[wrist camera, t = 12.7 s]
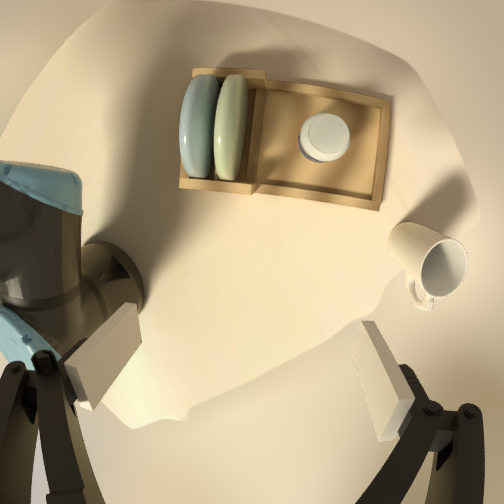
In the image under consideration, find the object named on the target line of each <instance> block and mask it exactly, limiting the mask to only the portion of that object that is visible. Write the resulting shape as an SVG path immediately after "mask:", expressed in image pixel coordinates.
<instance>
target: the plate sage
mask: <svg viewBox="0 0 504 504" xmlns="http://www.w3.org/2000/svg"><path fill="white" fill-rule="evenodd" d="M247 118H248V90H247V83H246V79H245V77H244V76H243V75H231V74H230V75H228V76H227V78H226V79H225V81H224V83H223V86H222V88H221V92H220V95H219V99H218V104H217V110H216V117H215V127H214V158H215V166H216V171H217V174H218V176H219V178H220V179H224V180H235V178H236V177H237V175H238V172H239V169H240V166H241V162H242V157H243V152H244V146H245V139H246V130H247Z"/></svg>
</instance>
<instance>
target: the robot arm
mask: <svg viewBox="0 0 504 504" xmlns="http://www.w3.org/2000/svg"><path fill="white" fill-rule="evenodd" d="M82 215H83V210H82V181H81V179H80V177H79V176H78V174H76V173H75V172H73V171H71V170H67V169H63V168H58V167H53V166H46V165H40V164H33V163H25V162H15V161H3V160H0V351H1V352H2V353H3V355H4V356H5V358H6V359H7V360H8V361H9V364H8V365H7V366H6V367H5V369H4V372H3V374H2V376H1V378H0V504H31V485H32V472H33V463H34V455H35V448H36V441H37V435H38V429H39V431H40V440H41V448H42V454H43V460H44V465H45V471H46V476H47V481H48V485H49V490H50V493H49V494H46V502H47V504H105V502H104V499H103V497H102V494H101V492H100V489H99V486H98V484H97V481H96V478H95V476H94V473H93V470H92V467H91V463H90V460H89V457H88V454H87V451H86V447H85V444H84V440H83V436H82V433H81V429H80V425H79V421H78V416H77V412H76V408H75V406H74V402H75V401H76V399H78V401H79V404H80V406H81V407H83V408H86V409H88V410H91V411H93V410H94V409H95V408H96V406H97V405H98V403H99V402H100V400H101V399H102V397H103V396H104V395H105V393H106V392H107V390H108V389H109V387H110V386H111V385H112V383H113V382H114V380H115V379H116V378H117V376H118V375H119V373H120V372H121V371H122V369H123V368H124V366H125V365H126V364H127V362H128V361H129V359H130V358H131V357H132V355H133V354H134V353H135V351H136V350H137V348H138V347H139V346H140V344H141V343H142V339H141V333H140V326H139V319H138V314H139V313H140V311H141V309H142V306H143V302H144V288H143V283H142V279H141V277H140V274H139V272H138V270H137V268H136V266H135V265H134V263H133V262H132V260H131V259H130V258H129V257H128V256H127V255H126V254H125V253H124V252H123V251H122V250H121V249H119V248H118V247H116V246H114V245H112V244H109V243H106V242H93V243H90V244H88V245H85V246H83V247H81V222H82ZM352 361H353V364H354V367H355V370H356V372H357V376H358V379H359V382H360V384H361V388H362V391H363V394H364V397H365V400H366V403H367V406H368V410H369V413H370V416H371V419H372V423H373V426H374V429H375V433H376V436H377V440H378V442H382V441H390V440H394V438H395V436H396V434H397V433H399V436H400V440H399V442H398V443H397V445H396V446H395V448H394V449H393V451H392V453H391V454H390V456H389V457H388V459H387V460H386V462H385V464H384V465H383V466H382V468H381V470H380V471H379V473H378V474H377V475H376V477H375V478H374V479H373V481H372V482H371V484H370V485H369V486H368V488H367V489H366V490H365V492H364V493H363V494H362V495H361V497H360V498H359V499H358V501H357V502H356V503H355V504H400V503H401V502H402V500H403V498H404V497H405V495H406V493H407V492H408V490H409V488H410V486H411V485H412V483H413V481H414V479H415V477H416V475H417V473H418V471H419V469H420V468H421V466H422V463H423V462H424V460H425V457H426V455H427V453H428V451H432V452H434V458H433V465H432V471H431V477H430V482H429V487H428V492H427V497H426V501H425V504H483V496H484V477H485V455H484V453H485V450H484V430H483V418H482V412H481V410H480V409H479V408H478V407H477V406H476V405H474V404H470V403H466V404H463V405H461V406H460V407H459V409H458V411H446V410H443V407H442V406H441V405H440V404H439V403H437V402H435V401H431V400H429V398H428V396H427V394H426V392H425V391H424V389H423V387H422V385H421V384H420V383H419V380H418V378H416V377H417V376H416V375H415V373H414V371H413V370H412V369H411V368H410V367H409V366H408V365H406V364H402V365H398V364H397V362H396V360H395V358H394V357H393V354H392V353H391V351H390V349H389V347H388V345H387V344H386V342H385V340H384V338H383V336H382V335H381V333H380V331H379V329H378V328H377V326H376V324H375V322H374V321H361V325H360V330H359V334H358V338H357V342H356V346H355V350H354V354H353V358H352Z"/></svg>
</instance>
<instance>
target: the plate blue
mask: <svg viewBox="0 0 504 504" xmlns="http://www.w3.org/2000/svg"><path fill="white" fill-rule="evenodd" d="M219 95H220V87H219V83H218V81H217V79H216V77H215V76H214V75H212V74H198V75H196V76H195V77H194V78H193V79H192V81H191V82H190V84H189V86H188V88H187V90H186V93H185V96H184V100H183V104H182V109H181V115H180V125H179V144H180V153H181V159H182V163H183V166H184V168H185V171H186V172H187V174H188V175H189V176H191V177H202V178H204V177H206V176H207V175H208V174H209V172H210V171H211V169H212V166H213V164H214V161H215V158H214V127H215V117H216V110H217V104H218V99H219Z"/></svg>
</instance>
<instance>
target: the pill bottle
mask: <svg viewBox="0 0 504 504" xmlns="http://www.w3.org/2000/svg"><path fill="white" fill-rule="evenodd" d="M349 144H350V133H349V129H348V126H347V125H346V123H345V122H344V121H343V120H342V119H341V118H340V117H338V116H336V115H333V114H330V113H317V114H314V115H312V116H311V117H309V118H308V119H307V120H306V121H305V122H304V124H303V126H302V127H301V131H300V133H299V136H298V147H299V150H300V152H301V153H302V155H303V156H304V157H305V158H307V159H308V160H310V161H312V162H316V163H324V162H329V161H334V160H336V159H338V158H340V157H341V156H342V155H343V154H344V153H345V152H346V151H347V149H348V147H349Z"/></svg>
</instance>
